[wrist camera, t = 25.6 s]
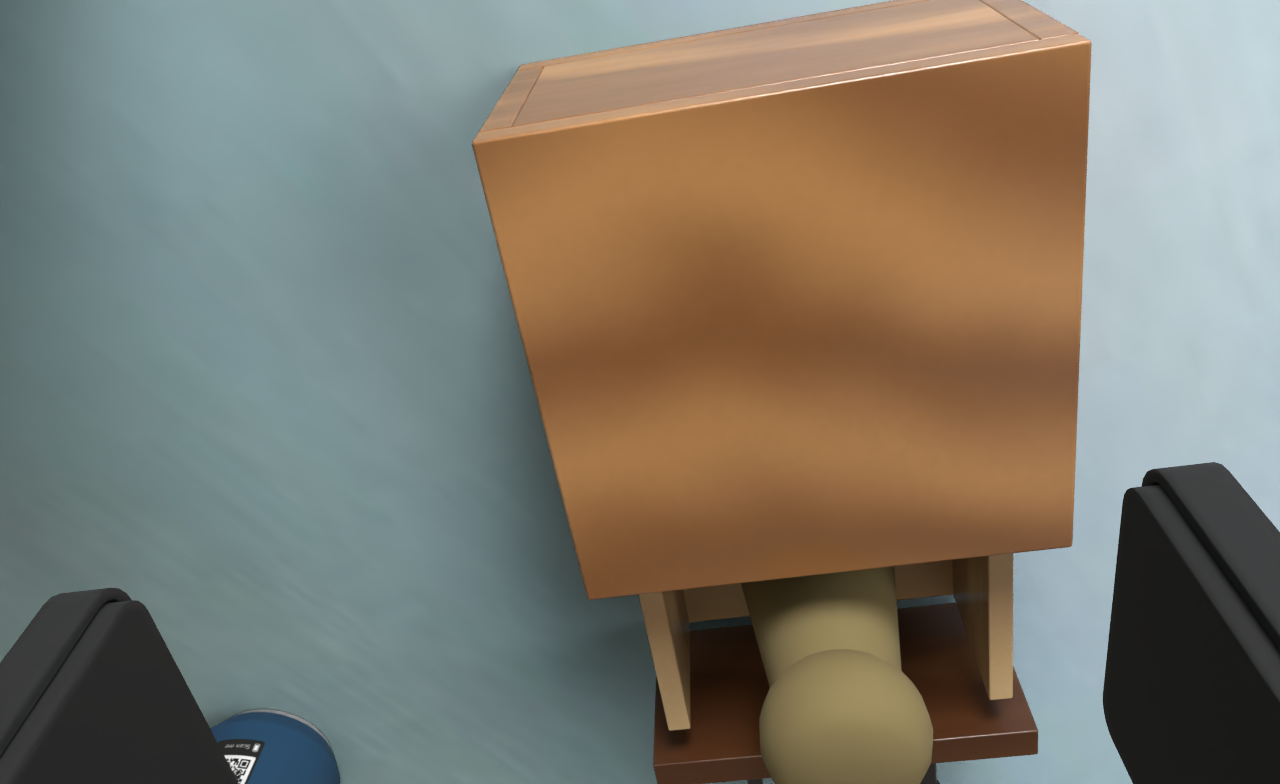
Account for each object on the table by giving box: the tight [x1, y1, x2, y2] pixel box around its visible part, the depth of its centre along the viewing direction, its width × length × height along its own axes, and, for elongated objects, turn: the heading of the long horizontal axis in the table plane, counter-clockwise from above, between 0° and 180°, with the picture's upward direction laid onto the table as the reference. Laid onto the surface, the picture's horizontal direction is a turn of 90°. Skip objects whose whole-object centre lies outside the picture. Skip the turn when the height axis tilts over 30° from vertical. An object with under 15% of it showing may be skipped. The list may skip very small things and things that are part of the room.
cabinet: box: [472, 0, 1091, 600], centre depth 32 cm, size 15×15×9 cm
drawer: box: [639, 553, 1038, 784], centre depth 39 cm, size 20×14×7 cm
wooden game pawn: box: [741, 566, 933, 784], centre depth 35 cm, size 6×6×11 cm
